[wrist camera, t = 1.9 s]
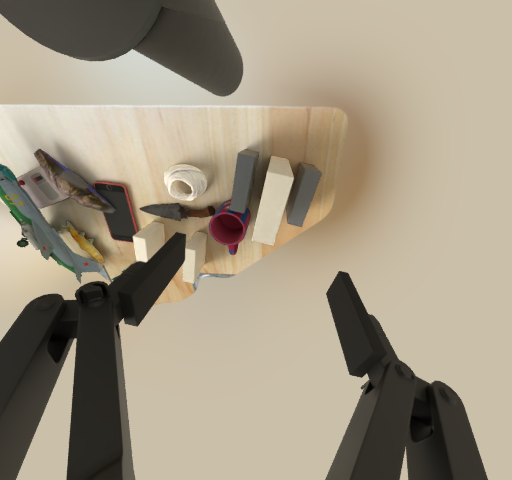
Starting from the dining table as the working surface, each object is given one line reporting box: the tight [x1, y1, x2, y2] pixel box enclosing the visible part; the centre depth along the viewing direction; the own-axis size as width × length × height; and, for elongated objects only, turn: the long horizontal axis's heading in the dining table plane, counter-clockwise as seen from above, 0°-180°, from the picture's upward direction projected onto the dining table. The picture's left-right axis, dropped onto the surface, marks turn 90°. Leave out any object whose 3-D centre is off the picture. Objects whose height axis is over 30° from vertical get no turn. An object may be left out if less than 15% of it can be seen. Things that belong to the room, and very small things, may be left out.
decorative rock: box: [34, 149, 117, 213], centre depth 38 cm, size 16×2×5 cm
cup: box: [209, 200, 250, 255], centre depth 38 cm, size 7×10×7 cm
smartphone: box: [94, 182, 138, 243], centre depth 42 cm, size 7×1×14 cm
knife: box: [140, 203, 215, 221], centre depth 40 cm, size 17×2×5 cm
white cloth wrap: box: [164, 164, 207, 201], centre depth 35 cm, size 8×7×5 cm
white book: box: [252, 155, 294, 245], centre depth 29 cm, size 3×9×15 cm, turn 168°
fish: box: [61, 221, 105, 263], centre depth 46 cm, size 12×2×5 cm
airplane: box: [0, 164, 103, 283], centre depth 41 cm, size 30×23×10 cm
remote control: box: [16, 166, 69, 208], centre depth 39 cm, size 7×16×3 cm, turn 109°
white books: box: [133, 221, 207, 283], centre depth 42 cm, size 12×9×7 cm
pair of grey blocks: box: [230, 149, 322, 227], centre depth 32 cm, size 12×9×7 cm
